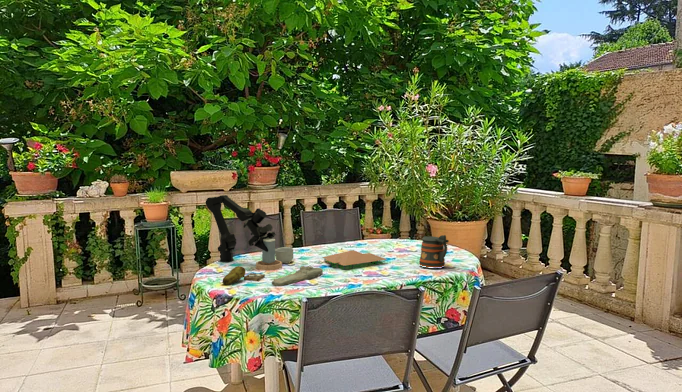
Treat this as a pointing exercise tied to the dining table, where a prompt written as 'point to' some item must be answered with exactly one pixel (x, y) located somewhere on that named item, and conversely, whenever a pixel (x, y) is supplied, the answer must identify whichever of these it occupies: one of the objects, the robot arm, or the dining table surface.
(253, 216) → the robot arm
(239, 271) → the potato
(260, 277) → the parts tray
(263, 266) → the tan polygonal ring
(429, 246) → the beer stein
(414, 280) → the dining table surface
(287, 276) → the long grey stone
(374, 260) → the brown flat block
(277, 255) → the teacup
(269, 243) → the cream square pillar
